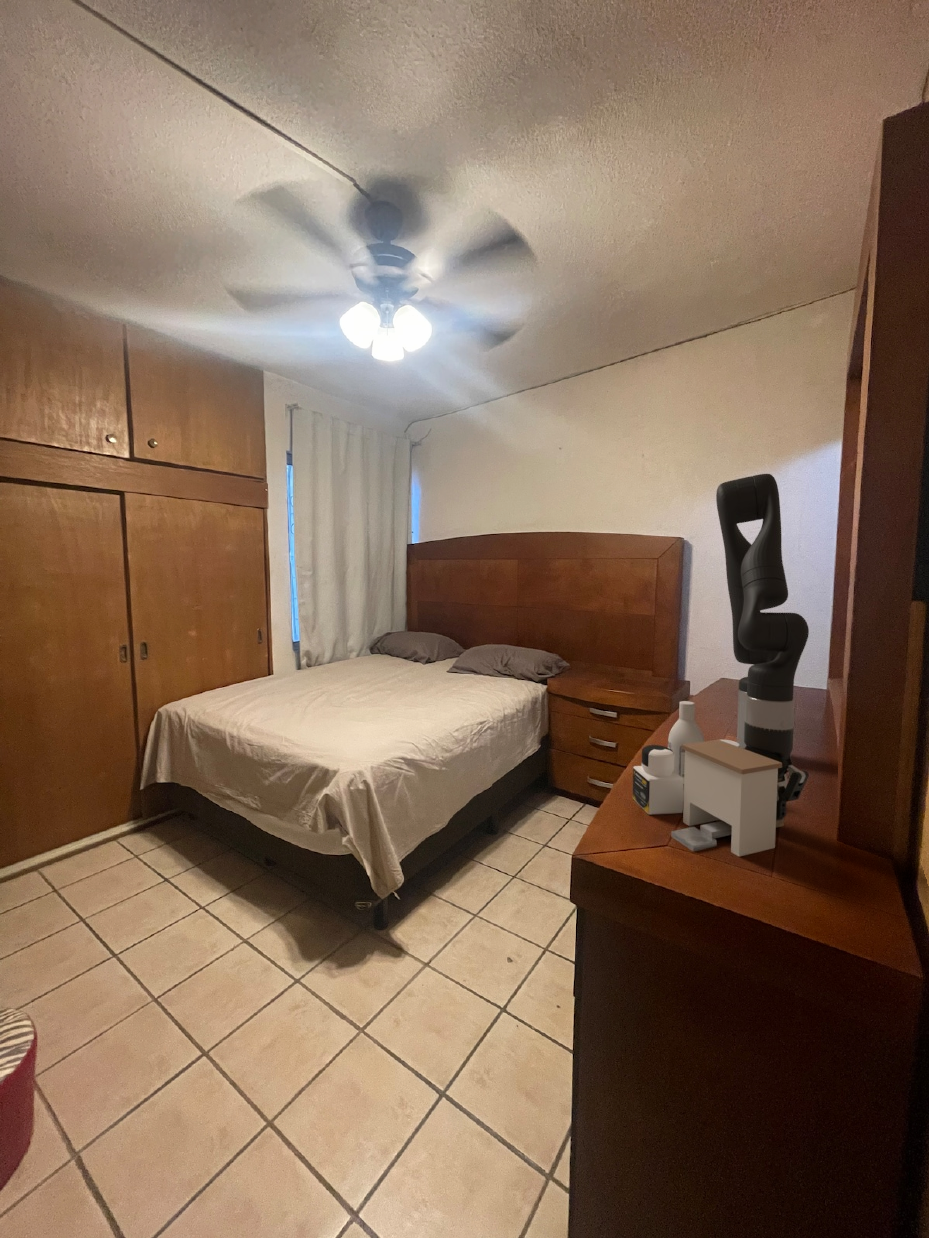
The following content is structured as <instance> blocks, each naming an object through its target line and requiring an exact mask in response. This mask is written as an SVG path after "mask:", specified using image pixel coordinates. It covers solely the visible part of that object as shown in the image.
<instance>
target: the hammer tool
mask: <svg viewBox="0 0 929 1238" xmlns="http://www.w3.org/2000/svg"><path fill="white" fill-rule="evenodd" d="M781 780H782V778H780V779H778V781H781ZM778 781H777V782H778ZM779 792H780V787H779ZM784 820H785V817H784V818H783V819H781V820H777V821H776V828H780V827H784V825H785V823H784V822H785V821H784ZM699 825H700V826H699V827H700V829H699V830H700V831H702V832H703V833H705V834H707V835H708V836H710V837H712V838H713V839H718V838H722V837H726V836H727V837H728V836H732V826H731V825H730V824H728V823H726V822H724V821H722V820H718V821H716V822H714V821H713V822H709V823H704V824H699Z"/></svg>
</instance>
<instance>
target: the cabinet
mask: <svg viewBox="0 0 929 1238" xmlns="http://www.w3.org/2000/svg"><path fill="white" fill-rule="evenodd" d="M721 740H722V739H713V740H712V739H711V740H704V742H697V743H690V744H683V745H682V749H683V750H685V769H684V801H683V812H682V814H683V815H682V817H683V818H682V822H683V823H684V824H685V825H687V826H689V827H693V826H696V825H703V824H707V823H712V822H714V821H716V822H717V821H724V822H726V823H728V824H730V825H731V826H732V835H730V836H731V842H730V852H731V854H734V855H735V856H737V857H742V856H749V855H751V854H756V853H760V852H764V851H768V850H772V849H775V847H776V828H777V827H776V806H777V781H778V768H782V763H781V762H778V761H776V760H773V759H770V758H767V757H765V756H762V755H759V754H756V753H754V752H751V751H748V750H746V749H743V748H740V747H737V746H735V745H732V744H729V743H726V742H724V741H721Z"/></svg>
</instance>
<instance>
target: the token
mask: <svg viewBox="0 0 929 1238" xmlns="http://www.w3.org/2000/svg"><path fill="white" fill-rule="evenodd" d="M670 835H671V837H670V838H672V839H674V840H676V841H677V842H678V843H680V844H682V845H683V846H684V847H686V848H687V849H689V850H690V851H692V852H698V851H701V850H702V851H703V850H707V849H710V848H715V847H717V846H718V845H717V844H718V843H717V841H718V840H717V839H716V838H714V839H713V838H712V837H710V836H708V835H707V834H705V833H703V832H702V831H700V829H699V828H697V827H695V826H689V827H686V828H681V829H677V830H672V831H671V833H670Z"/></svg>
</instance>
